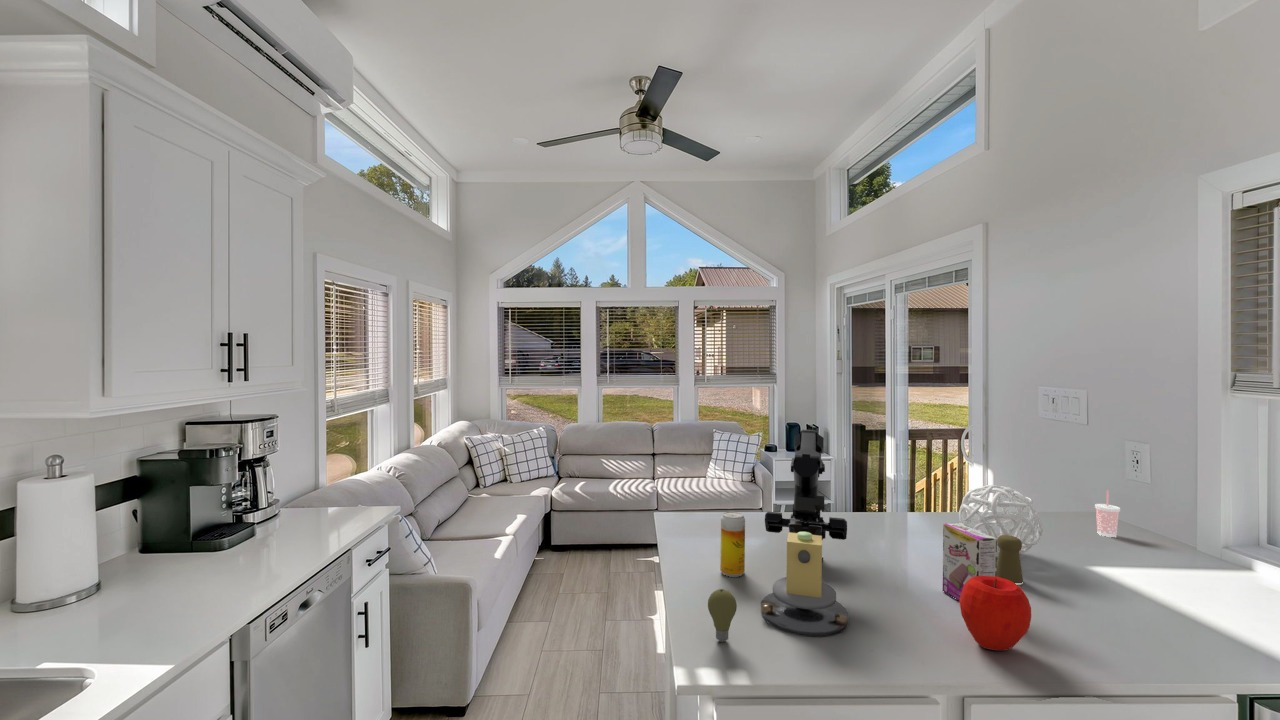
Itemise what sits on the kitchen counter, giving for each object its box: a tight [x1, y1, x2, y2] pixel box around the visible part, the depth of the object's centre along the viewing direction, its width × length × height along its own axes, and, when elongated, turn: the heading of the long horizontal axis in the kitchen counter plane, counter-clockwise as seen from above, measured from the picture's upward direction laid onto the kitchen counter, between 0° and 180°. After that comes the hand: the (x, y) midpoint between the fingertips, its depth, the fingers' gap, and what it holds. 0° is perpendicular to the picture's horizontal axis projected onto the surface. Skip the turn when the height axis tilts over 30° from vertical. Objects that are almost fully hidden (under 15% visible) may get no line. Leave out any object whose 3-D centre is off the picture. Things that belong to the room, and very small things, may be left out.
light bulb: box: [707, 588, 738, 643], centre depth 109 cm, size 6×6×10 cm
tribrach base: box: [760, 592, 850, 638], centre depth 120 cm, size 19×18×4 cm
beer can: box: [719, 511, 746, 578], centre depth 142 cm, size 6×6×15 cm
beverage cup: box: [1094, 489, 1121, 538], centre depth 173 cm, size 6×6×14 cm
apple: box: [958, 576, 1032, 651], centre depth 107 cm, size 12×12×13 cm
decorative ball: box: [958, 484, 1044, 557], centre depth 155 cm, size 20×20×19 cm
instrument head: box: [772, 531, 837, 610], centre depth 119 cm, size 13×13×13 cm
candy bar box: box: [942, 522, 998, 602], centre depth 126 cm, size 11×5×16 cm, turn 9°
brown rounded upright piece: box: [996, 535, 1024, 583], centre depth 138 cm, size 6×6×11 cm
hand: (804, 559), depth 129 cm, fingers closed
